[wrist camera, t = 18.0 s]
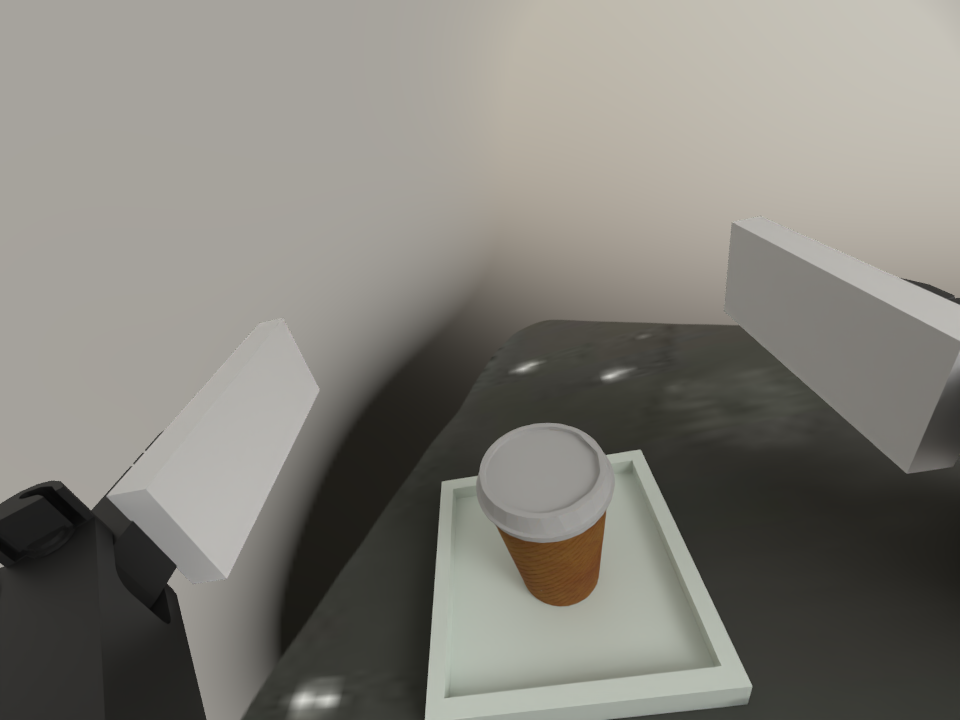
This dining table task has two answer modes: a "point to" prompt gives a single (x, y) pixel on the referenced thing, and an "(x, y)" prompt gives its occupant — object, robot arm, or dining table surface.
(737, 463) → the dining table surface
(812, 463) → the dining table surface
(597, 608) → the tray
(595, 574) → the disposable coffee cup
